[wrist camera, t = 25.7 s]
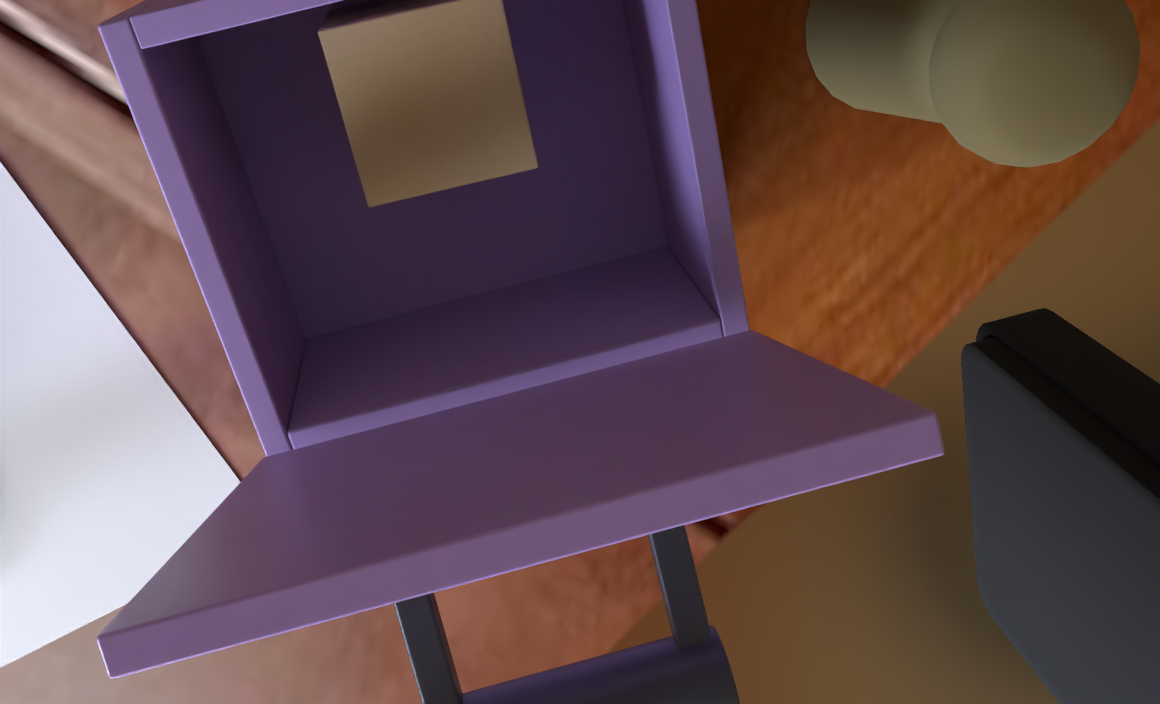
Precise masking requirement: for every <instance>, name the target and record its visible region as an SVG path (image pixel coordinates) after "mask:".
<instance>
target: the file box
mask: <svg viewBox="0 0 1160 704" xmlns="http://www.w3.org/2000/svg"><path fill="white" fill-rule="evenodd" d="M366 1H370V0H145V1H143V2H141V3H139V4H137V5H135V6H133V7H132V8H130V9H128V10H126V11H124V12H122V13H120V14H118V15H116V16H114V17H112V18H110V19H108V20H106V21H104V22H102V23H100V24H99V25H98V29H99V32H100V34H101V37H102V39H103V42H104V45H105V47H106V50H107V52H108V55H109V57H110V60H111V62H112V65H113V67H114V70H115V73H116V75H117V78H118V80H119V83H120V85H121V88H122V90H123V93H124V95H125V98H126V101H127V103H128V106H129V108H130V111H131V113H132V116H133V118H134V121H135V123H136V126H137V129H138V131H139V134H140V136H141V139H142V141H143V144H144V146H145V149H146V151H147V154H148V157H149V159H150V162H151V164H152V167H153V169H154V172H155V174H156V177H157V179H158V182H159V184H160V187H161V190H162V192H163V195H164V197H165V200H166V202H167V205H168V207H169V210H170V212H171V215H172V218H173V220H174V223H175V225H176V228H177V230H178V233H179V235H180V238H181V240H182V243H183V246H184V248H185V251H186V253H187V256H188V258H189V261H190V263H191V266H192V268H193V271H194V274H195V276H196V279H197V281H198V284H199V286H200V289H201V291H202V294H203V296H204V299H205V302H206V304H207V307H208V309H209V312H210V314H211V317H212V319H213V322H214V324H215V327H216V330H217V332H218V335H219V337H220V340H221V342H222V345H223V347H224V350H225V352H226V355H227V357H228V360H229V363H230V365H231V368H232V370H233V373H234V375H235V378H236V380H237V383H238V385H239V388H240V391H241V393H242V396H243V398H244V401H245V403H246V406H247V408H248V411H249V413H250V416H251V419H252V421H253V424H254V426H255V429H256V431H257V434H258V436H259V439H260V441H261V444H262V447H263V449H264V452H265V454H266V457H267V456H271V455H275V454H279V453H283V452H286V451H290V450H294V449H298V448H302V447H306V446H309V445H313V444H317V443H321V442H325V441H328V440H332V439H336V438H340V437H344V436H348V435H351V434H355V433H359V432H363V431H367V430H370V429H374V428H378V427H382V426H386V425H390V424H393V423H397V422H401V421H405V420H409V419H412V418H416V417H420V416H424V415H428V414H432V413H435V412H439V411H443V410H447V409H451V408H454V407H458V406H462V405H466V404H470V403H474V402H477V401H481V400H485V399H489V398H493V397H496V396H500V395H504V394H508V393H512V392H516V391H519V390H523V389H527V388H531V387H535V386H538V385H542V384H546V383H550V382H554V381H558V380H561V379H565V378H569V377H573V376H577V375H580V374H584V373H588V372H592V371H596V370H600V369H603V368H607V367H611V366H615V365H619V364H622V363H626V362H630V361H634V360H638V359H642V358H645V357H649V356H653V355H657V354H661V353H664V352H668V351H672V350H676V349H680V348H684V347H687V346H691V345H695V344H699V343H703V342H706V341H710V340H714V339H718V338H722V337H725V336H729V335H733V334H737V333H741V332H745V331H748V330H749V323H748V317H747V311H746V305H745V299H744V293H743V287H742V280H741V274H740V268H739V262H738V256H737V250H736V243H735V237H734V231H733V225H732V219H731V213H730V206H729V200H728V194H727V188H726V182H725V176H724V169H723V163H722V157H721V151H720V145H719V139H718V133H717V126H716V120H715V114H714V108H713V102H712V96H711V89H710V83H709V77H708V71H707V65H706V59H705V52H704V46H703V40H702V34H701V28H700V22H699V16H698V9H697V3H696V0H502V1H503V5H504V10H505V14H506V19H507V24H508V28H509V33H510V38H511V42H512V47H513V51H514V56H515V61H516V65H517V70H518V74H519V79H520V84H521V88H522V93H523V97H524V102H525V107H526V111H527V116H528V121H529V125H530V130H531V134H532V139H533V144H534V148H535V153H536V157H537V162H538V168H537V169H532V170H528V171H524V172H519V173H515V174H511V175H507V176H502V177H498V178H494V179H489V180H485V181H481V182H477V183H472V184H468V185H464V186H459V187H455V188H451V189H446V190H442V191H438V192H434V193H429V194H425V195H421V196H416V197H412V198H408V199H403V200H399V201H395V202H391V203H386V204H382V205H378V206H373V207H369V206H368V204H367V200H366V197H365V194H364V190H363V187H362V183H361V180H360V176H359V173H358V169H357V166H356V163H355V159H354V156H353V152H352V149H351V145H350V142H349V138H348V135H347V131H346V128H345V125H344V121H343V118H342V114H341V111H340V107H339V104H338V100H337V97H336V93H335V90H334V87H333V83H332V80H331V76H330V73H329V69H328V66H327V62H326V59H325V56H324V52H323V49H322V45H321V42H320V38H319V35H318V31H319V29H320V27H321V25H322V23H323V21H324V19H325V17H326V15H327V14H328V12H329V10H330V9H334V8H339V7H343V6H348V5H352V4H357V3H361V2H366Z"/></svg>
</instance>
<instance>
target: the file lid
mask: <svg viewBox="0 0 1160 704" xmlns="http://www.w3.org/2000/svg"><path fill="white" fill-rule="evenodd" d="M943 454H944V447H943V442H942V438H941V433H940V428H939V423H938V418H937V415H936V413H935V412H934V411H931V410H929V409H927V408H925V407H922V406H920V405H918V404H916V403H914V402H911V401H909V400H907V399H905V398H903V397H900V396H898V395H896V394H894V393H891V392H889V391H887V390H885V389H882V388H880V387H878V386H876V385H874V384H871V383H869V382H867V381H865V380H862V379H860V378H858V377H856V376H853V375H851V374H849V373H847V372H845V371H842V370H840V369H838V368H836V367H833V366H831V365H829V364H827V363H825V362H822V361H820V360H818V359H816V358H813V357H811V356H809V355H807V354H804V353H802V352H800V351H798V350H796V349H793V348H791V347H789V346H787V345H784V344H782V343H780V342H778V341H775V340H773V339H771V338H769V337H767V336H764V335H762V334H760V333H758V332H755V331H753V330H748V331H745V332H741V333H737V334H733V335H729V336H725V337H722V338H718V339H714V340H710V341H706V342H703V343H699V344H695V345H691V346H687V347H684V348H680V349H676V350H672V351H668V352H664V353H661V354H657V355H653V356H649V357H645V358H642V359H638V360H634V361H630V362H626V363H622V364H619V365H615V366H611V367H607V368H603V369H600V370H596V371H592V372H588V373H584V374H580V375H577V376H573V377H569V378H565V379H561V380H558V381H554V382H550V383H546V384H542V385H538V386H535V387H531V388H527V389H523V390H519V391H516V392H512V393H508V394H504V395H500V396H496V397H493V398H489V399H485V400H481V401H477V402H474V403H470V404H466V405H462V406H458V407H454V408H451V409H447V410H443V411H439V412H435V413H432V414H428V415H424V416H420V417H416V418H412V419H409V420H405V421H401V422H397V423H393V424H390V425H386V426H382V427H378V428H374V429H370V430H367V431H363V432H359V433H355V434H351V435H348V436H344V437H340V438H336V439H332V440H328V441H325V442H321V443H317V444H313V445H309V446H306V447H302V448H298V449H294V450H290V451H286V452H283V453H279V454H275V455H271V456H267V457H264V458H263V459H262V460H261V461H260V462H259V463H258V464H257V465H256V466H255V467H254V468H253V469H252V471H251V472H250V473H249V474H248V475H247V476H246V477H245V478H244V479H243V480H242V481H241V482H240V483H239V485H238V486H237V487H236V488H235V489H234V490H233V491H232V492H231V493H230V494H229V495H228V496H227V497H226V498H225V500H224V501H223V502H222V503H221V504H220V505H219V506H218V507H217V508H216V509H215V510H214V511H213V512H212V514H211V515H210V516H209V517H208V518H207V519H206V520H205V521H204V522H203V523H202V524H201V525H200V526H199V527H198V529H197V530H196V531H195V532H194V533H193V534H192V535H191V536H190V537H189V538H188V539H187V540H186V541H185V543H184V544H183V545H182V546H181V547H180V548H179V549H178V550H177V551H176V552H175V553H174V554H173V555H172V556H171V558H170V559H169V560H168V561H167V562H166V563H165V564H164V565H163V566H162V567H161V568H160V569H159V570H158V571H157V573H156V574H155V575H154V576H153V577H152V578H151V579H150V580H149V581H148V582H147V583H146V584H145V585H144V587H143V588H142V589H141V590H140V591H139V592H138V593H137V594H136V595H135V596H134V597H133V598H132V599H131V600H130V602H129V603H128V604H127V605H126V606H125V607H124V608H123V609H122V610H121V611H120V612H119V613H118V614H117V616H116V617H115V618H114V619H113V620H112V621H111V622H110V623H109V624H108V625H107V626H106V627H105V628H104V629H103V631H102V632H101V633H100V634H99V635H98V636H97V642H98V645H99V648H100V651H101V654H102V657H103V660H104V663H105V666H106V669H107V672H108V675H109V677H110V679H114V678H118V677H122V676H126V675H130V674H133V673H137V672H141V671H144V670H148V669H152V668H155V667H159V666H163V665H167V664H170V663H174V662H178V661H181V660H185V659H189V658H193V657H196V656H200V655H204V654H207V653H211V652H215V651H219V650H222V649H226V648H230V647H233V646H237V645H241V644H244V643H248V642H252V641H256V640H259V639H263V638H267V637H270V636H274V635H278V634H282V633H285V632H289V631H293V630H296V629H300V628H304V627H307V626H311V625H315V624H319V623H322V622H326V621H330V620H333V619H337V618H341V617H345V616H348V615H352V614H356V613H359V612H363V611H367V610H371V609H374V608H378V607H382V606H385V605H389V604H393V603H394V606H395V610H396V613H397V617H398V620H399V624H400V627H401V630H402V634H403V637H404V641H405V644H406V648H407V651H408V655H409V658H410V662H411V665H412V669H413V672H414V676H415V679H416V682H417V686H418V689H419V693H420V696H421V700H422V703H423V704H740V701H739V696H738V692H737V689H736V685H735V681H734V678H733V674H732V671H731V668H730V664H729V661H728V658H727V655H726V652H725V650H724V647H723V644H722V641H721V639H720V636H719V634H718V632H717V630H716V629H715V627H714V626H709V622H708V618H707V614H706V610H705V606H704V602H703V598H702V594H701V590H700V586H699V582H698V578H697V573H696V569H695V565H694V561H693V557H692V553H691V549H690V545H689V541H688V537H687V533H686V529H685V525H686V524H689V523H693V522H697V521H700V520H704V519H708V518H712V517H715V516H719V515H723V514H726V513H730V512H734V511H738V510H741V509H745V508H749V507H752V506H756V505H760V504H763V503H767V502H771V501H775V500H778V499H782V498H786V497H789V496H793V495H796V494H801V493H804V492H808V491H812V490H815V489H819V488H822V487H826V486H830V485H834V484H837V483H841V482H845V481H849V480H852V479H856V478H859V477H864V476H867V475H871V474H875V473H878V472H882V471H886V470H890V469H893V468H897V467H901V466H904V465H908V464H912V463H916V462H919V461H923V460H926V459H930V458H933V457H938V456H941V455H943ZM645 535H647V536H648V539H649V543H650V547H651V551H652V555H653V559H654V563H655V567H656V571H657V575H658V579H659V583H660V587H661V591H662V595H663V599H664V603H665V607H666V611H667V615H668V619H669V623H670V627H671V631H672V635H673V636H670V637H667V638H663V639H660V640H656V641H652V642H648V643H645V644H641V645H638V646H634V647H630V648H627V649H623V650H619V651H616V652H612V653H608V654H605V655H601V656H597V657H594V658H590V659H586V660H583V661H579V662H575V663H572V664H568V665H564V666H561V667H557V668H554V669H550V670H546V671H543V672H539V673H535V674H532V675H528V676H524V677H521V678H517V679H513V680H510V681H506V682H503V683H499V684H495V685H492V686H488V687H484V688H481V689H477V690H473V691H470V692H466V693H462V691H461V687H460V684H459V680H458V677H457V673H456V670H455V666H454V663H453V659H452V655H451V652H450V648H449V645H448V641H447V638H446V634H445V631H444V627H443V624H442V620H441V617H440V613H439V610H438V606H437V602H436V599H435V595H434V592H437V591H441V590H445V589H448V588H452V587H456V586H459V585H463V584H467V583H471V582H474V581H478V580H482V579H485V578H489V577H493V576H497V575H500V574H504V573H508V572H511V571H515V570H519V569H523V568H526V567H530V566H534V565H537V564H541V563H545V562H548V561H552V560H556V559H560V558H563V557H567V556H571V555H574V554H578V553H582V552H586V551H589V550H593V549H597V548H600V547H604V546H608V545H611V544H615V543H619V542H623V541H626V540H630V539H634V538H637V537H641V536H645Z"/></svg>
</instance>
